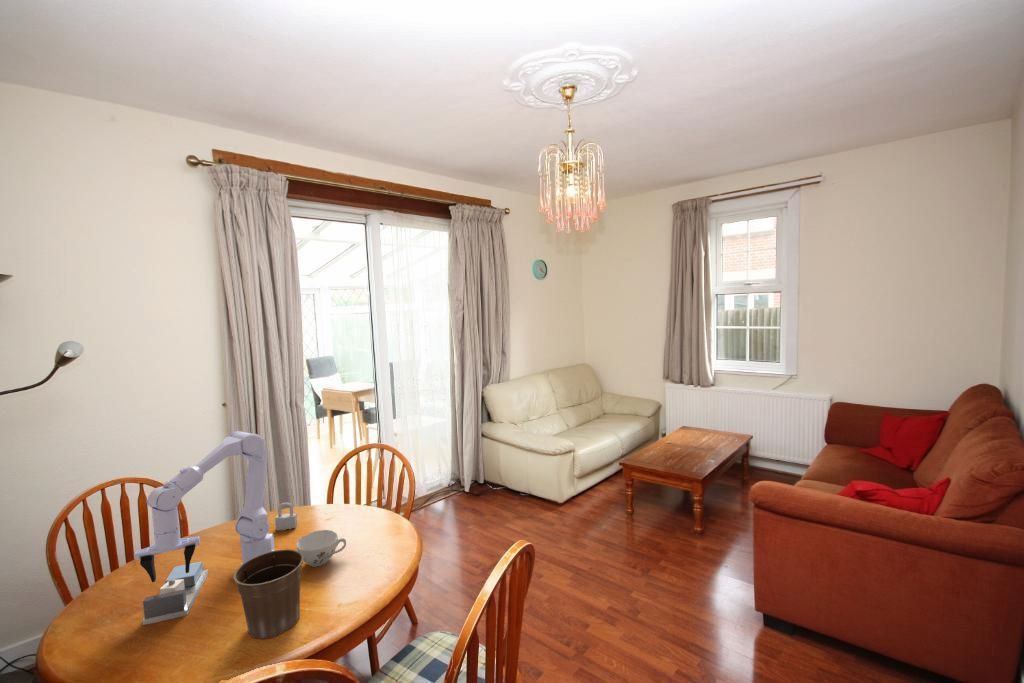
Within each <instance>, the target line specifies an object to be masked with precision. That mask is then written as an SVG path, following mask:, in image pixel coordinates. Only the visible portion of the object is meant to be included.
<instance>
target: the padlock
mask: <svg viewBox="0 0 1024 683" xmlns="http://www.w3.org/2000/svg"><path fill="white" fill-rule="evenodd" d="M285 506H287V507H288V508H289V512H288V513H287V512H286V513H282V508H283V507H285ZM274 524H275V525H274V526H275V531H287V530H286V529H289V530H292V529H291V528H295V529H296V528H297V526H298V525H297V524H298V513H297V512H294V505H292V503H290V502H282V503H280V504H279V505H278V507H277V515H276V516H275V517H274Z"/></svg>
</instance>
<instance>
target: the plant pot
mask: <svg viewBox="0 0 1024 683" xmlns="http://www.w3.org/2000/svg"><path fill="white" fill-rule="evenodd" d="M303 563H304V561H303V555H302V553H300V552H299V551H298V550H297V549H291V548H290V549H285V548H284V549H275V551H271V552H267V553H264V554H261V555H258V556H256V557H254V558H252V559H250V560H248V561H246V562H245V563H243V564H242V563H241V564H242V565H241V564H240V566H238V567H237V568H236V570H235V571H234V573H233V581H234V582H235V584H236V585H237V591H238V594H239V595H240V597H241V602H242V607H243V611H244V617H245V622H246V626H247V632H248V634H250V636H251V637H252V638H254V639H259V640H263V639H264V640H265V639H272V638H274V636H275V637H278V636H279V634H280V635H282V633H284V632H285V631H286V630H290V629H291V628H293V627H294V626H295V625H296V624H297V622H298V621H299V619H300V612H301V611H300V610H301V609H300V605H301V603H300V602H301V599H300V597H301V576H302V569H303V568H302V565H303Z"/></svg>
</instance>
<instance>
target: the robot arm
mask: <svg viewBox="0 0 1024 683" xmlns="http://www.w3.org/2000/svg"><path fill="white" fill-rule="evenodd" d="M240 455H242V456H243V457H245V458H247V460H248V464H247V465H248V466H247V473H246V474H247V475H246V485H245V486H246V487H245V494H244V495H245V497H244V507H243V509H241V510H240V512H239V514H238V518H237V520H236V522H235V525H234V529H235V532H236V533H237V534H238V535H239V538H240V549H241V550H240V551H241V564H240V566H241V565H242V564H243V563H245V562H246V561H248V560H250V559H252V558H254V557H256V556H258V555H261V554H264V553H267V552H271V551H275V550H276V549H275V539H274V537H275V536H274V533H269V531H270V522H269V518H268V517H269V515H268V513H267V511H266V509H265V507H264V501H265V490H266V481H267V480H266V479H267V469H268V457H269V452H268V450H267V447H266V444H265V438H263V437H262V436H261V435H259V434H257V433H252V432H251V433H250V432H246V431H241V430H236V431H233V432H232V433H230V434H229V436H226V437H224V439H223V440H222V442H221V443H220V444H218V445H217V446H216V448H214V449H213V450H212V451H210V453H208V454H207V455H206V456H205V457H204V458H203V459H201V460H200V461H199V462H198V463H197V464H196V465H195V466H194V465H193V466H187V467H182V468H181V469H180V470H179V473H177V474H176V475H174V476H173V477H172V478H171V479H170V480H169V481H165V482H164V483H163V485H162V486H158V487H156V488H154V489H153V490H152V491H151V492H150V493H149V495H148V497H147V499H146V500H145V501H146V504H147V506H148V507H150V508H151V515H152V527H153V537H154V544H153V545H150V546H148V547H145V548H141V549H139V550H135V553H134V560H135V561H139V560H140V561H139V564H140V566H141V567H142V568H143V569H144V570H145V571H146V573H147V574H148V576H149V579H150V581H151V583H155V582H156V580H157V574H156V566H155V556H156V555H159V554H164V553H169V552H173V551H177V550H180V549H184V550H183V556H184V562H185V564H186V565H185V564H184V565H185V571H186V573H189V567H190V564H191V560H192V557H193V555H194V552H195V549H196V546H200V544H201V537H200V535H198V536H192V537H182V538H181V533H180V532H181V531H180V520H179V511H178V510H179V509H178V506H179V504H180V503H181V501H182V499H183V497H184V496H185V495H187V493H189V492H190V491H191V490H192V489H194V488H195V487H196V486H197V485H198V484H199V483H201V482H202V481H203V479H204V475H205V474H206V473H207V472H209V471H210V470H211V469H213V468H215V467H216V466H217V465H218V464H220V463H222V461H224V460H225V459H226V458H228V457H232V456H233V457H234V456H240Z"/></svg>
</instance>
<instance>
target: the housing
mask: <svg viewBox="0 0 1024 683" xmlns="http://www.w3.org/2000/svg"><path fill="white" fill-rule="evenodd" d="M184 589H185V586H184V579H179V580H175V579H171V580H169V581H168V582H167V583H166V584H165V583H164V584H163V585H162V586H161V587H160V588H159V594H164V593H169V592H174V591H179V590H184Z"/></svg>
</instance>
